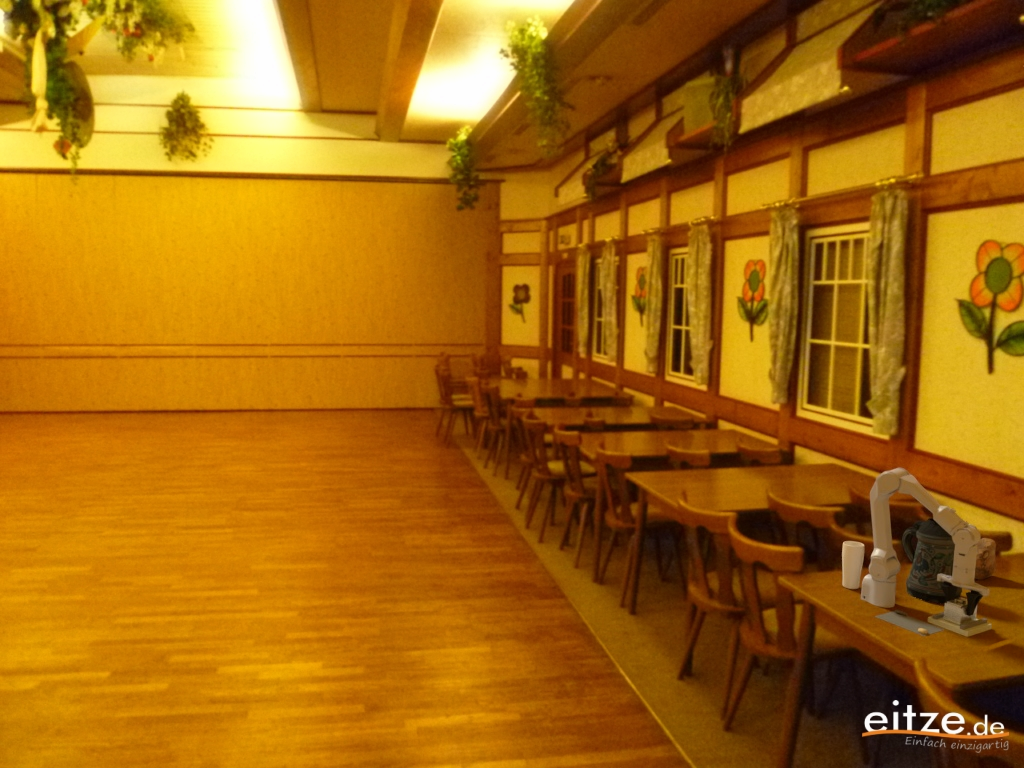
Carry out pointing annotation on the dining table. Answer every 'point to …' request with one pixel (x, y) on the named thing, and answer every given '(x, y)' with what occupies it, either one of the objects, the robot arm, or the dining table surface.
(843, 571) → the drinking glass
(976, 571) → the rough brown rock
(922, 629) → the mat
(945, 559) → the beer stein
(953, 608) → the housing
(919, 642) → the dining table surface
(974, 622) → the stand
